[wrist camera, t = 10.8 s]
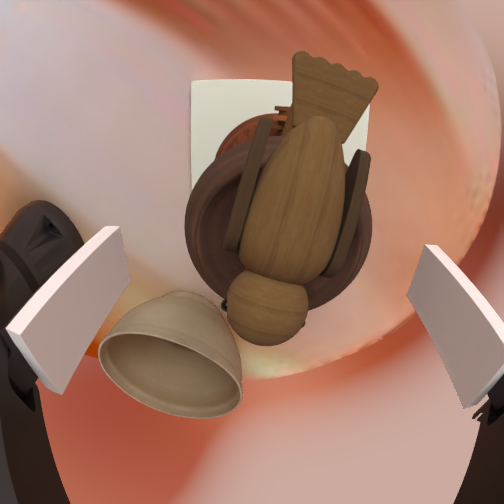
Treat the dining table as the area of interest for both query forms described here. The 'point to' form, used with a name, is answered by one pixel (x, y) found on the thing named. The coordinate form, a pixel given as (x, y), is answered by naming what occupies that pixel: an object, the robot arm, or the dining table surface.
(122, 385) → the planter bowl
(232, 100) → the board
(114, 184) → the dining table surface
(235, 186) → the music box
